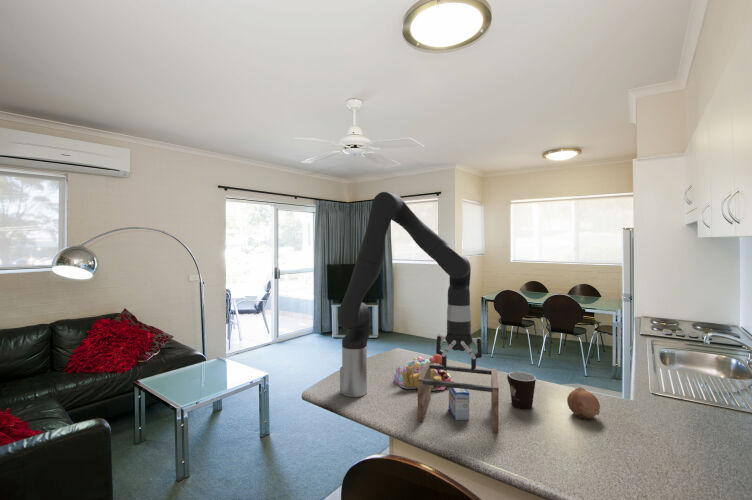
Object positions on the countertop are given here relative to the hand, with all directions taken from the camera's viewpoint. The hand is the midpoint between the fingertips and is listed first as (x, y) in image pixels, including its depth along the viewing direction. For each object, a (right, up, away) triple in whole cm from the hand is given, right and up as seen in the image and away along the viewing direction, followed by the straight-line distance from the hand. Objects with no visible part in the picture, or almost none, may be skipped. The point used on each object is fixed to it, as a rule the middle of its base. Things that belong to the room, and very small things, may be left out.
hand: (458, 368), depth 113 cm
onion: (+39, -15, -1) cm, 42 cm away
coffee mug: (+23, -15, +8) cm, 29 cm away
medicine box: (0, -15, 0) cm, 15 cm away
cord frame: (0, -15, 0) cm, 15 cm away
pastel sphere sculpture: (-8, -15, +29) cm, 34 cm away
